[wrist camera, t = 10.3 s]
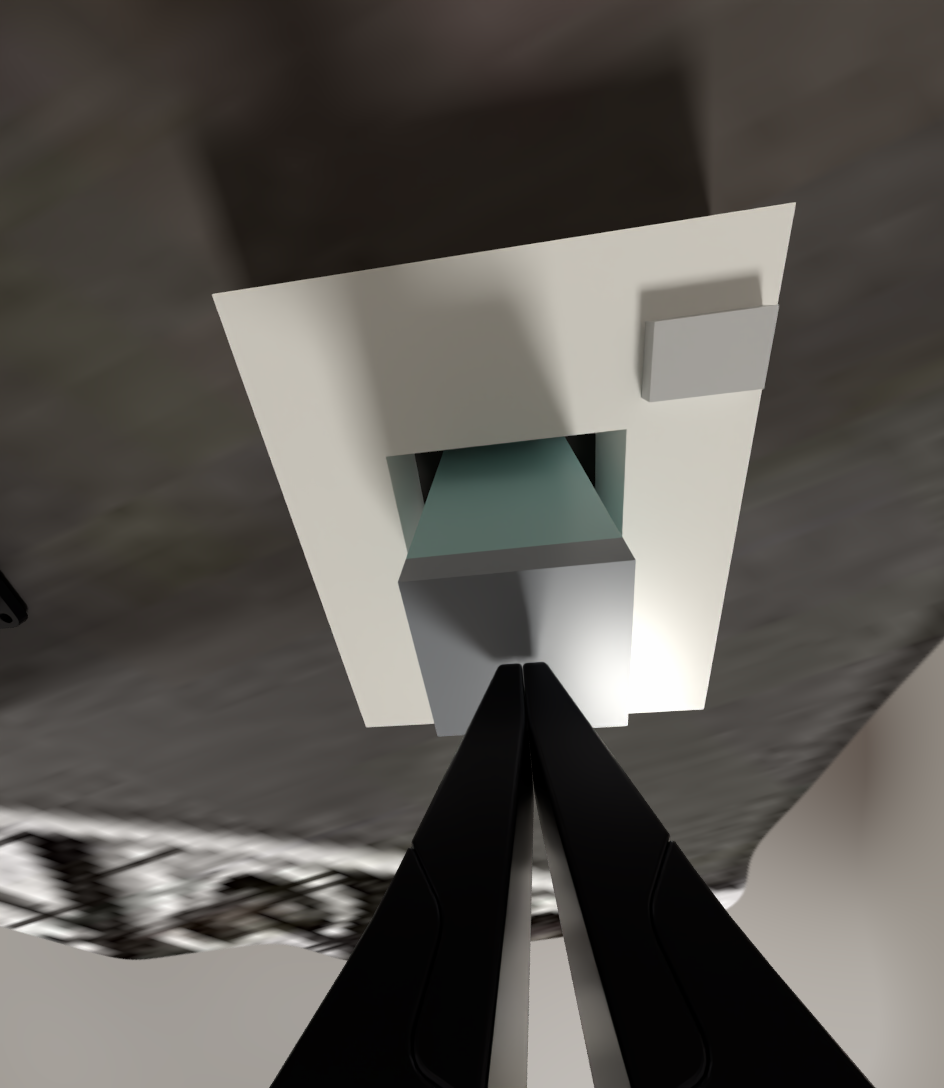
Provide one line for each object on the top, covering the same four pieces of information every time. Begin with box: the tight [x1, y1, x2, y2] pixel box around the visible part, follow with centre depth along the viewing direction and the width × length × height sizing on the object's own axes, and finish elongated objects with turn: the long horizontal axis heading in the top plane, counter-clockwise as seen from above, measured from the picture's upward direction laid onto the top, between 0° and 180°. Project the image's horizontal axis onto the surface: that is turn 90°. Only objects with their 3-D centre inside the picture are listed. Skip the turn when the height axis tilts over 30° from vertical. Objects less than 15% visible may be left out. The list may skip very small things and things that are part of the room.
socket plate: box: [212, 202, 796, 727], centre depth 13 cm, size 12×14×4 cm
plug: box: [398, 436, 636, 736], centre depth 12 cm, size 4×4×8 cm
